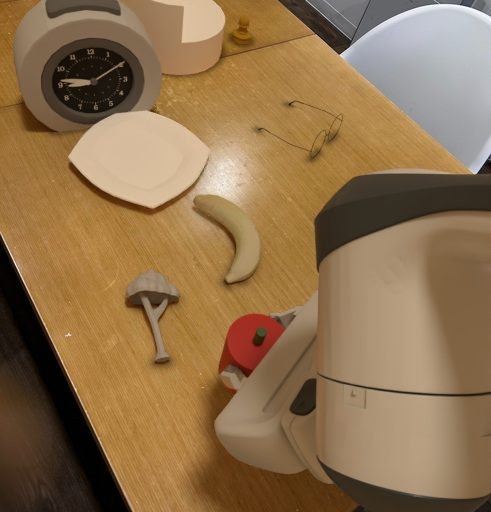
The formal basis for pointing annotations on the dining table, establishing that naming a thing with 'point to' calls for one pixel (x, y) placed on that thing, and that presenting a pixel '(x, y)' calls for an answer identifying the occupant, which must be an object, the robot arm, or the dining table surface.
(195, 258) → the dining table surface
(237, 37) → the chess piece
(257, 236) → the fruit
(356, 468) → the robot arm
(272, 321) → the pepper
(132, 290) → the mushroom
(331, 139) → the eyeglasses
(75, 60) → the alarm clock
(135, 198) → the plate
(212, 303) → the dining table surface
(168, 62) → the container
